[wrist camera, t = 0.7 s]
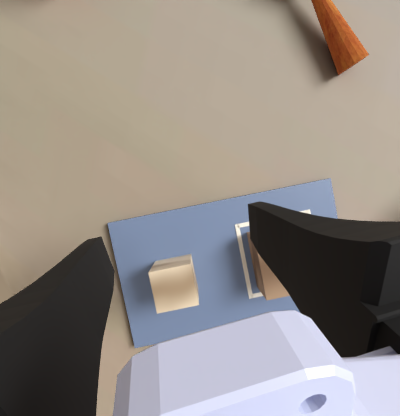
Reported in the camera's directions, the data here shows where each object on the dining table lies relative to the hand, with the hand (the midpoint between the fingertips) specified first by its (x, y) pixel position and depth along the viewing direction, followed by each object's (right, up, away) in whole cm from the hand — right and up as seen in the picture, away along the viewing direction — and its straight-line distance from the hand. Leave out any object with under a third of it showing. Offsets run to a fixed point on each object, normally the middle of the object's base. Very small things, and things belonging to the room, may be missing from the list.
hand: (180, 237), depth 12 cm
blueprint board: (+5, -6, +19) cm, 20 cm away
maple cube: (-2, -7, +18) cm, 19 cm away
